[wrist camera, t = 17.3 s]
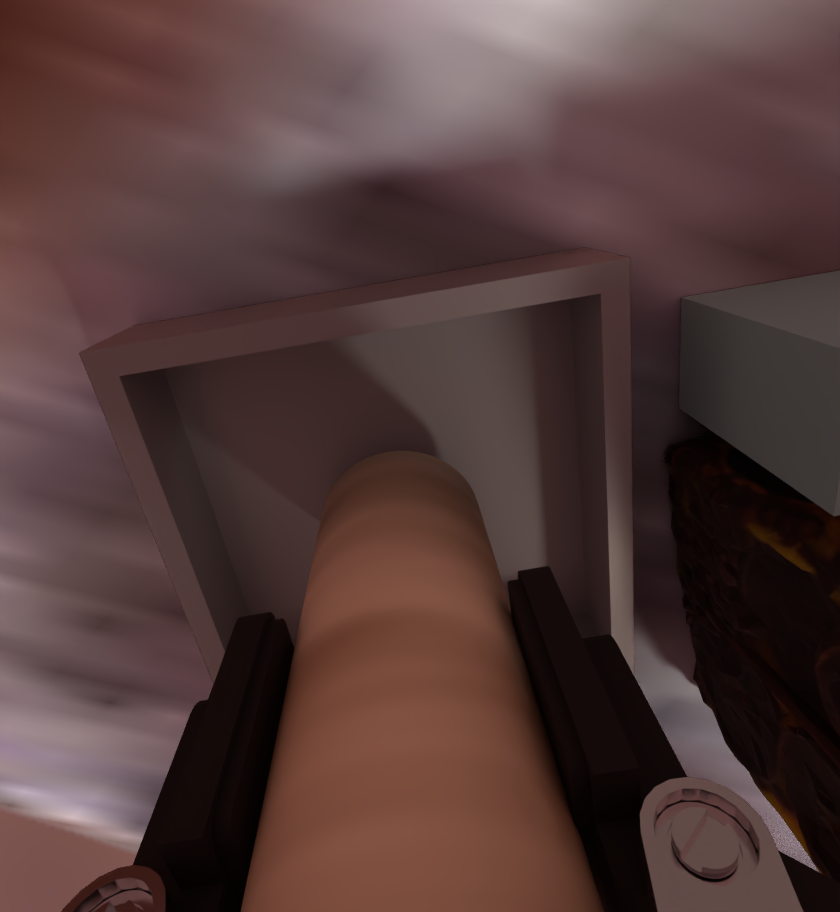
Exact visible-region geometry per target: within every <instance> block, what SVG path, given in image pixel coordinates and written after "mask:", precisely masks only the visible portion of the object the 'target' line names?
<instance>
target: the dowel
mask: <svg viewBox="0 0 840 912" xmlns="http://www.w3.org/2000/svg"><path fill="white" fill-rule="evenodd" d="M241 912H604V910H603V906H602V903H601V900H600V897H599V893H598V890H597V887H596V884H595V880H594V877H593V874H592V871H591V867H590V864H589V861H588V858H587V854H586V851H585V848H584V845H583V842H582V839H581V837H580V834H579V832H578V829H577V828H576V826H575V823H574V819H573V816H572V813H571V809H570V806H569V803H568V800H567V796H566V793H565V790H564V787H563V783H562V780H561V777H560V773H559V770H558V767H557V764H556V760H555V757H554V754H553V750H552V747H551V744H550V741H549V737H548V734H547V731H546V727H545V724H544V721H543V718H542V714H541V711H540V708H539V705H538V701H537V698H536V695H535V691H534V688H533V685H532V682H531V678H530V675H529V672H528V668H527V665H526V662H525V659H524V655H523V652H522V649H521V645H520V642H519V639H518V636H517V632H516V629H515V626H514V623H513V619H512V616H511V609H510V605H509V602H508V599H507V595H506V592H505V589H504V586H503V582H502V579H501V576H500V573H499V570H498V566H497V563H496V560H495V557H494V553H493V550H492V547H491V544H490V540H489V537H488V534H487V531H486V527H485V524H484V521H483V518H482V514H481V511H480V508H479V505H478V502H477V499H476V496H475V494H474V492H473V490H472V488H471V486H470V484H469V483H468V482H467V480H466V479H465V478H464V477H463V476H462V475H461V474H460V473H459V472H458V471H457V470H456V469H455V468H453V467H452V466H451V465H449V464H448V463H446V462H444V461H442V460H441V459H438V458H436V457H433V456H431V455H427V454H424V453H420V452H413V451H392V452H385V453H381V454H377V455H374V456H371V457H368V458H366V459H364V460H362V461H360V462H358V463H356V464H355V465H353V466H352V467H351V468H349V469H348V470H347V471H346V472H345V473H343V474H342V475H341V476H340V477H339V479H338V480H337V481H336V482H335V483H334V485H333V487H332V488H331V490H330V491H329V493H328V496H327V498H326V500H325V504H324V507H323V512H322V516H321V521H320V526H319V531H318V536H317V541H316V546H315V551H314V556H313V560H312V565H311V570H310V575H309V580H308V585H307V590H306V595H305V599H304V604H303V609H302V614H301V619H300V624H299V629H298V634H297V639H296V643H295V648H294V653H293V658H292V663H291V668H290V673H289V678H288V682H287V687H286V692H285V697H284V702H283V707H282V712H281V717H280V721H279V726H278V731H277V736H276V741H275V746H274V751H273V756H272V761H271V765H270V770H269V775H268V780H267V785H266V790H265V795H264V800H263V804H262V809H261V814H260V819H259V824H258V829H257V834H256V839H255V843H254V848H253V853H252V858H251V863H250V868H249V873H248V878H247V883H246V887H245V892H244V897H243V902H242V907H241Z"/></svg>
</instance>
